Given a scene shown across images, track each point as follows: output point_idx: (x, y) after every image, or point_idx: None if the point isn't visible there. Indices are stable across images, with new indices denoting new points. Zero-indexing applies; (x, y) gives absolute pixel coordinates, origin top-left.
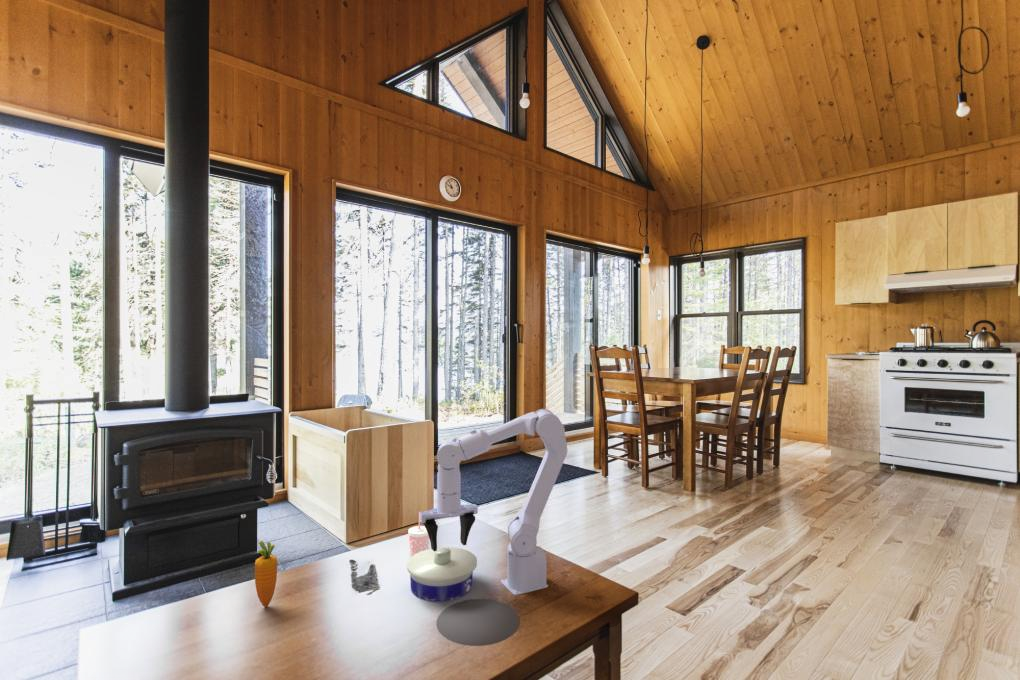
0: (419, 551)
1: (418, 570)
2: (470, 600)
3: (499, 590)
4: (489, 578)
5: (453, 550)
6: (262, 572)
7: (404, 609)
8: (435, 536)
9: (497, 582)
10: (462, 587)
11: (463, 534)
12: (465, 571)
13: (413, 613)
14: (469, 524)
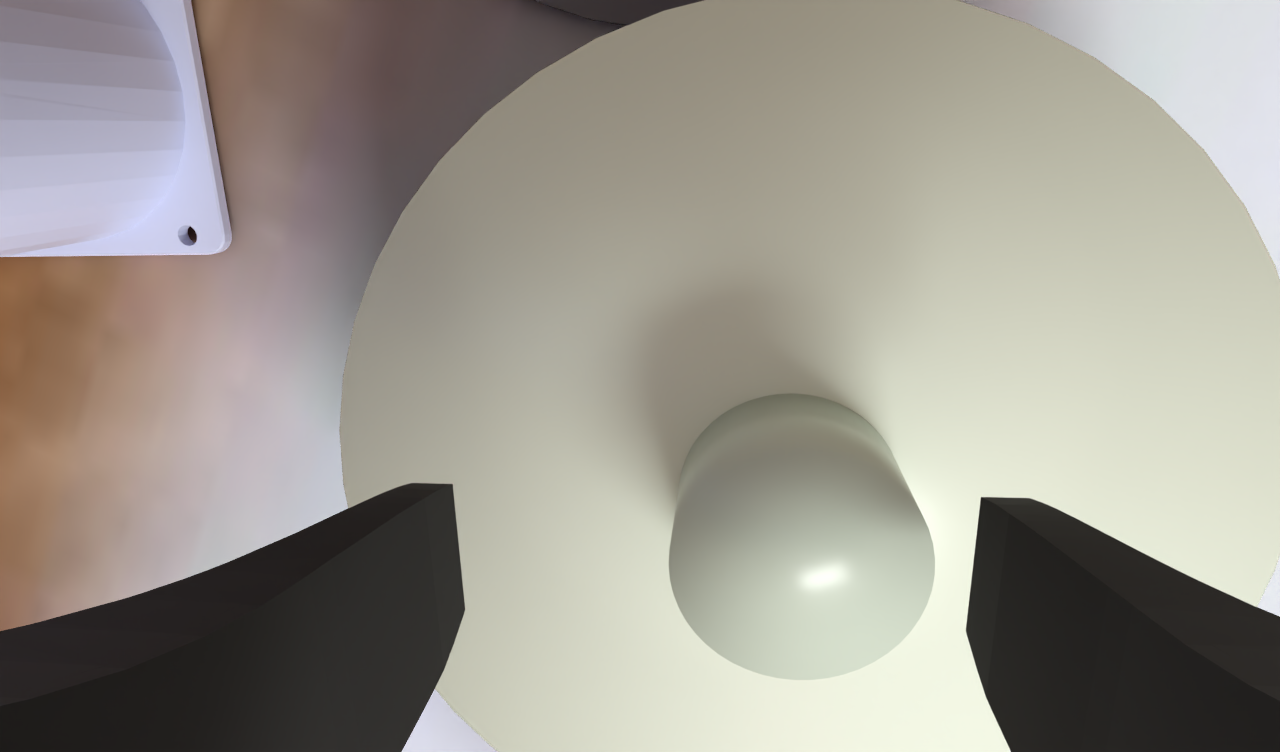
0: None
1: (1202, 390)
2: (615, 4)
3: (286, 109)
4: (311, 364)
5: (551, 704)
6: None
7: (1267, 158)
8: (1199, 626)
9: (262, 263)
10: None
11: (371, 621)
12: (604, 61)
13: (1223, 39)
14: (44, 651)
